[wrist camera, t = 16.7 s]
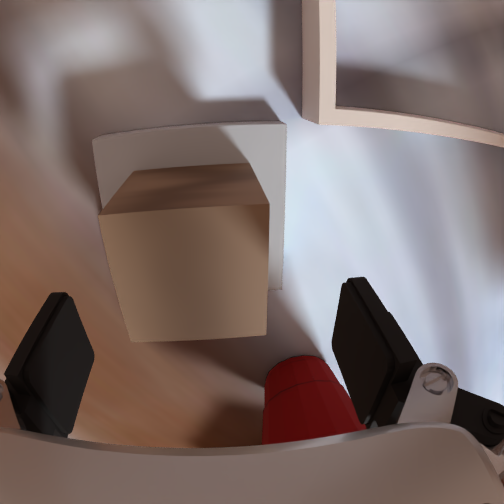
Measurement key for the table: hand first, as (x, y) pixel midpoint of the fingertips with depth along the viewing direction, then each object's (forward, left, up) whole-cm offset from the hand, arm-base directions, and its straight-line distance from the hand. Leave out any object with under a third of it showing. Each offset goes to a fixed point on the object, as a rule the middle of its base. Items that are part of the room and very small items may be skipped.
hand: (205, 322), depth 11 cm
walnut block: (+1, 0, -8) cm, 8 cm away
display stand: (+1, 0, -10) cm, 10 cm away
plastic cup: (-6, +16, -10) cm, 20 cm away
